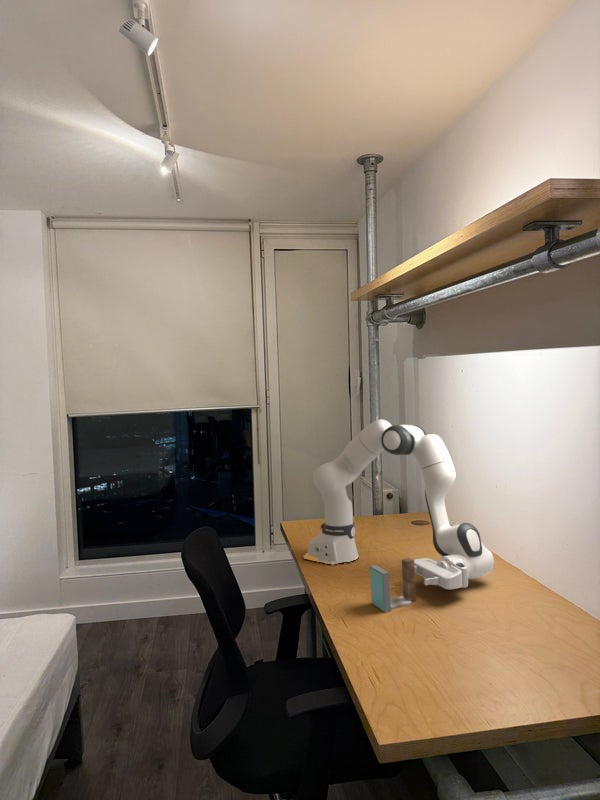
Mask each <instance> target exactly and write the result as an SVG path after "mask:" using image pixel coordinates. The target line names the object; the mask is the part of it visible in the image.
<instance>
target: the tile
mask: <svg viewBox="0 0 600 800" xmlns="http://www.w3.org/2000/svg"><path fill="white" fill-rule="evenodd" d="M369 574H370V593H371V595H370V596H371V604H372V605H374V606H375V607H376V608H377V609H379V610H381V611H382V612H383V613H388V612H391V611H392V609H391V605H390V599H391V592H390V591H391V590H390V589H391V587H390V572H389V571H387V570H385V569H383V568H382V567H380V566H378V565H377V564H373V565H369Z"/></svg>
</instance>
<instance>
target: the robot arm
mask: <svg viewBox="0 0 600 800" xmlns="http://www.w3.org/2000/svg"><path fill="white" fill-rule="evenodd" d="M383 451H386V452H387V453H389V454H391V455H395V456H407V455H408V456H410V455H413V456H414V457H415V458H416V459H417V462H418V464H419V467H420V470H421V473H422V476H423V480H424V499H425V502H426V507H427V511H428V515H429V519H430V520H429V521H430V523H431V528H432V543H433V547H434V549H435V551H436V552H437V553H438V554H439V556H441V557H440V558H439V559H438V561H437V560H436V559H435V560H434V559H432V558H429V557H424V558H416V559H413V560H414V567H415V575H416V574H417V575H418V576H421V577H422V580H421V581H422V584H423V585H425V586H430V585H432V586H439V587H441V588H443V589H445V590H455V589H460V588H465V589H466V588H468V586H469V580H473V579H478V578H480V577H484V576H486V575H488V574H490V572H491V571H492V570H493V568H494V566H495V558H494V555H493V553H492V551H491V550H489V549H488V548H487V547H486V545H484V543H483V541H482V539H481V536H480V535H481V534H480V532H479V531H478V529H477V527H476V526H474V525H473V524H472V523H469V522H461V523H458V524H454V525H450V522H449V517H448V513H447V508H446V503H445V501H446V500H445V499H446V496H447V494H448V492H449V491H450V490H451V488H452V487H453V486H454V483H455V482H456V479H457V473H456V469H455V466H454V463H453V460H452V458H451V454H450V453H449V451H448V448H447V446H446V444H445V443H444V441H443V439H442V438H441V437H440V436H439V435H438V434H435V433H433V434H432V433H429V434H428V433H427V432H426V431H425V429H423V428H422V427H421V426H419V425H417V424H416V425H415V424H395V425H392V424H391V423H390V422H389V421H388V420H386V419H383V418H379V419H376V420H375V421H373V422H371V423H369V424H368V425H367V426H366V427H365V428H363V429H362V430H361V431H360V432H359V433H358V434H357V435H356V436H355V437H353V438H352V439H351V440H350V441H349V442H348V444H346V445H345V447H344V450H343V452H342V453H340V455H339V456H338V457H336V458H335V459H334V460H332V461H329V462H327V463H323V464H321V465H320V466H319V467H318V468H317V469H316V470H315V471H314V472H313V476H312V480H313V481H312V482H313V484H314V486H315V488H316V489H317V490H318V491H319V492H320V495H321V498H322V501H323V508H324V523H322V524H320V525H319V529H320V530H321V531H320V532H319V533H318V534H317V535H315V537H313V538H312V539H311V540H310V541H309V544H308V549H307V551H308V555H309V556H313V557H316V558H318V560H319V561H322V562H326V563H330V564H335V563H340V562H341V563H342V562H350V561H353V560H356V559H357V558H358V557H359V558H360V556H359V553H358V548H357V544H356V538H355V536H356V527H355V521H354V514H353V513H354V511H353V502H352V501H351V500H350V499H349V497H348V493H347V489H346V488H347V487H346V486H348V485H351V484H352V483H353V482H354V481H356V480H357V478H358V477H359V476H360V475H361V474H362V472H363V471H364V470H365V469H366V468H367V467H368V465H370V463H372V462H373V461H374V460H375V459H376V458H377V457H378V456H380V454H381V453H382V452H383ZM356 561H357V560H356ZM350 563H351V562H350Z"/></svg>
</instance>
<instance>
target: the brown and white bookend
mask: <svg viewBox="0 0 600 800" xmlns="http://www.w3.org/2000/svg"><path fill="white" fill-rule="evenodd" d="M414 560H415V559H413V558H410V557H407V558H402V559H401V568H402V569H401V571H402V572H401V573H402V593H403V594H402V595H400V596H397V597H393V598H390V605H391V610H393V609H397V608H398V609H399V608H401V607H406V606H409V605H413V602H416V601H417V591H416V588H417V587H416V573H415V567H414Z"/></svg>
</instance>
